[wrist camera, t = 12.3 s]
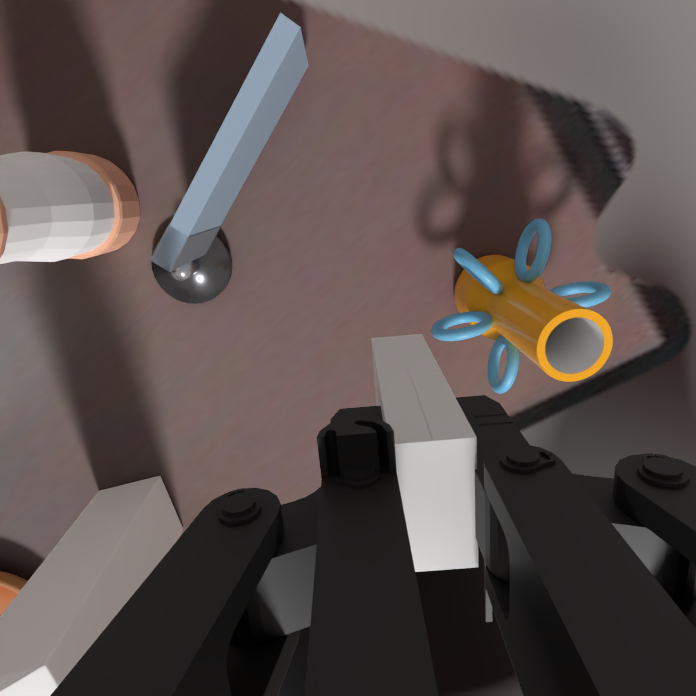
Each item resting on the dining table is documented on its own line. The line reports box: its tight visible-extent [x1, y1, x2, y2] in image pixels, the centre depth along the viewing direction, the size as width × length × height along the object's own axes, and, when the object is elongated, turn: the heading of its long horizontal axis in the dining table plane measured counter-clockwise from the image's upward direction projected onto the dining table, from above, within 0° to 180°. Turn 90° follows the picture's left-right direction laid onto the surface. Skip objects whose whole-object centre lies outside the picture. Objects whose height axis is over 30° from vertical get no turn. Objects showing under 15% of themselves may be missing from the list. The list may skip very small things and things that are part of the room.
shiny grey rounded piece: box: [152, 234, 232, 303], centre depth 38 cm, size 6×6×4 cm
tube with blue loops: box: [431, 219, 613, 393], centre depth 33 cm, size 12×10×15 cm
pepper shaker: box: [0, 151, 140, 264], centre depth 29 cm, size 7×7×19 cm
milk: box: [0, 476, 183, 696], centre depth 35 cm, size 6×6×22 cm
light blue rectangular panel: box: [150, 13, 308, 272], centre depth 32 cm, size 15×1×8 cm, turn 147°
